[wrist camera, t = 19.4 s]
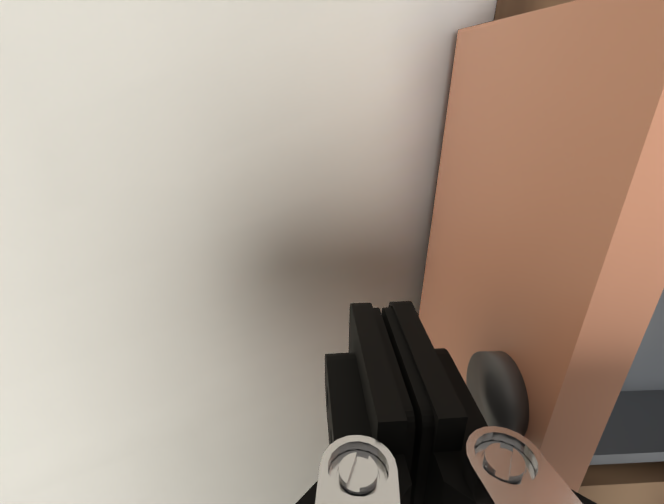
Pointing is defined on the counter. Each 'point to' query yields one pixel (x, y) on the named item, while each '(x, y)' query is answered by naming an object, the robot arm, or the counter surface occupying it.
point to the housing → (607, 479)
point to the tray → (556, 230)
